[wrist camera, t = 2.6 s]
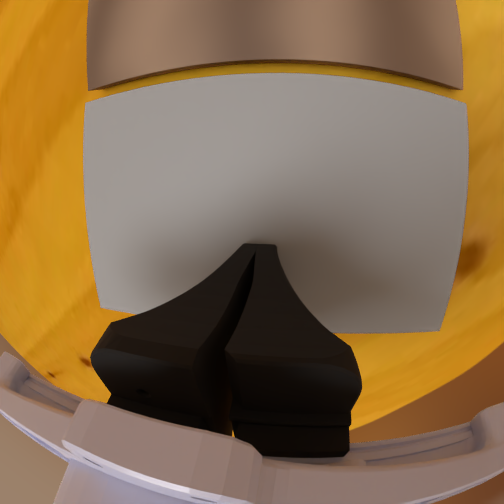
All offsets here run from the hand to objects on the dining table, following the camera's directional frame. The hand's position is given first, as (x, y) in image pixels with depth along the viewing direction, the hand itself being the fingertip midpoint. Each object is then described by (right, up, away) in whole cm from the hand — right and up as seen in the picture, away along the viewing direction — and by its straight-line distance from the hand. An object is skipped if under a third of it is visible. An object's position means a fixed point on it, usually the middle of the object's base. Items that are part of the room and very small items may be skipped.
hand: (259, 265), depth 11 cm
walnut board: (0, +13, -4) cm, 13 cm away
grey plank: (0, +3, +1) cm, 3 cm away
